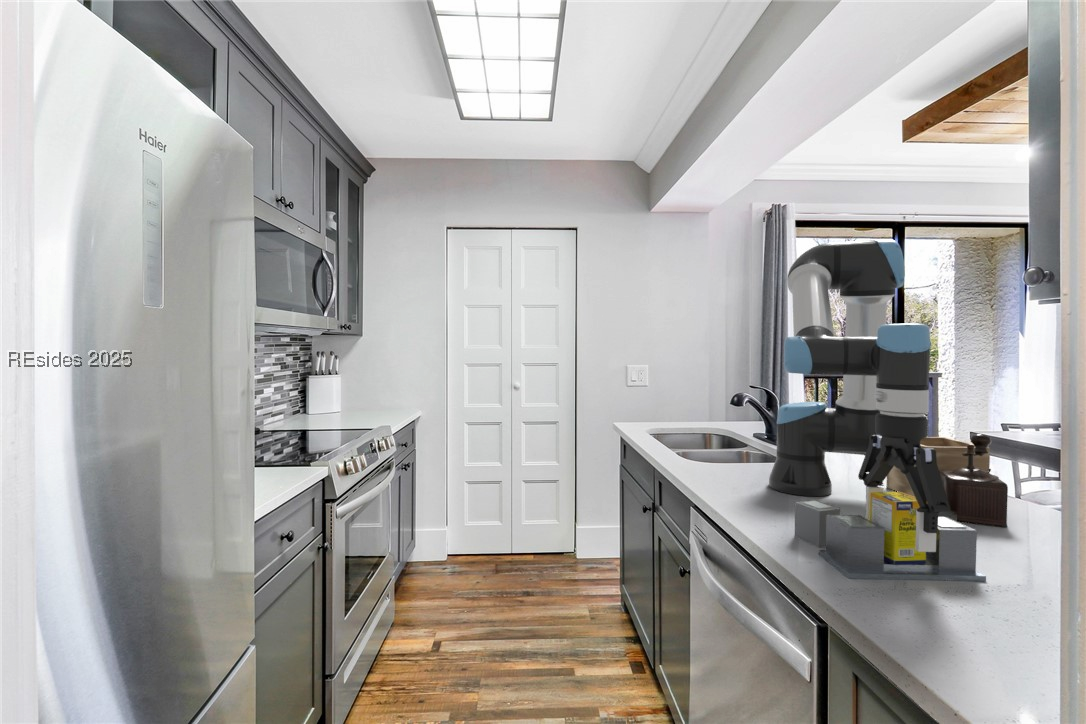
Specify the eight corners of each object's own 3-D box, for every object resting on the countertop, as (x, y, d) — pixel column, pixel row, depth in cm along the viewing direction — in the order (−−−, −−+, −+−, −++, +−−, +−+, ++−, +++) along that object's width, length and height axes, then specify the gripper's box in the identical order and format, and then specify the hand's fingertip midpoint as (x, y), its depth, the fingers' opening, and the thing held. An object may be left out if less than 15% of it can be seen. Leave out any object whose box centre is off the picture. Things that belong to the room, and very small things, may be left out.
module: (794, 536, 104) (795, 501, 104) (814, 534, 106) (814, 499, 106) (818, 547, 99) (819, 510, 98) (839, 544, 100) (839, 507, 100)
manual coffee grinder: (1012, 529, 110) (1015, 444, 109) (947, 521, 114) (949, 439, 114) (987, 508, 124) (989, 433, 123) (930, 502, 128) (932, 429, 128)
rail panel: (818, 554, 95) (819, 511, 95) (941, 556, 95) (942, 512, 94) (848, 578, 85) (849, 530, 85) (986, 581, 85) (987, 532, 84)
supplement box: (926, 565, 87) (928, 500, 87) (893, 566, 87) (895, 501, 87) (899, 551, 93) (901, 490, 93) (868, 552, 93) (869, 491, 93)
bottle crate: (886, 487, 142) (887, 436, 141) (942, 488, 141) (944, 437, 141) (925, 504, 127) (926, 447, 126) (988, 505, 126) (990, 447, 126)
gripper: (839, 404, 102) (837, 511, 103) (930, 424, 77) (926, 565, 78) (878, 405, 102) (876, 512, 102) (982, 424, 77) (977, 566, 77)
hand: (897, 535), depth 90 cm, fingers open, 13 cm apart
